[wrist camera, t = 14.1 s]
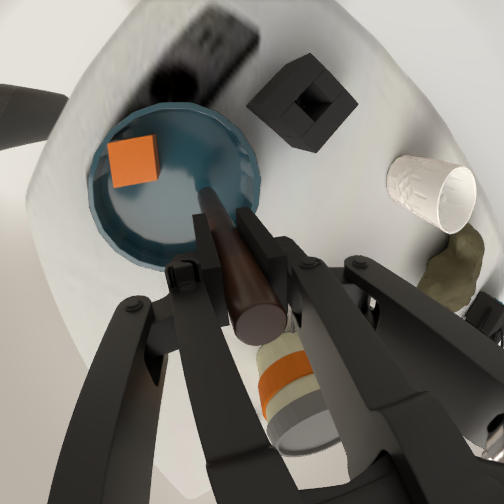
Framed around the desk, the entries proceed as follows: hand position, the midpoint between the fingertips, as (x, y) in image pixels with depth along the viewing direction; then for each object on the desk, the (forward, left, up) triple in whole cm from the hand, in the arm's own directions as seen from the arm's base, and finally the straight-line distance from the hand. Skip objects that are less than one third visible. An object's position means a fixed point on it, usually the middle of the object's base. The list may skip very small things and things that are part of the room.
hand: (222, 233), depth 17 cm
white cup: (+19, +17, -14) cm, 30 cm away
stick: (0, 0, -11) cm, 11 cm away
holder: (+1, +12, -14) cm, 19 cm away
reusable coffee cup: (+24, -13, -14) cm, 31 cm away
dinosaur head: (+37, +12, -14) cm, 42 cm away
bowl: (-3, -2, -14) cm, 14 cm away
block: (-7, -2, -14) cm, 15 cm away
